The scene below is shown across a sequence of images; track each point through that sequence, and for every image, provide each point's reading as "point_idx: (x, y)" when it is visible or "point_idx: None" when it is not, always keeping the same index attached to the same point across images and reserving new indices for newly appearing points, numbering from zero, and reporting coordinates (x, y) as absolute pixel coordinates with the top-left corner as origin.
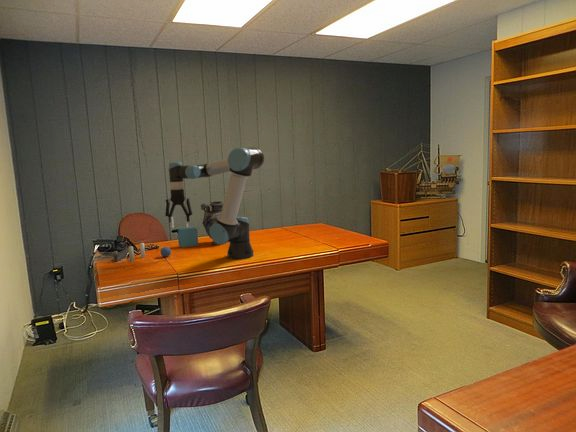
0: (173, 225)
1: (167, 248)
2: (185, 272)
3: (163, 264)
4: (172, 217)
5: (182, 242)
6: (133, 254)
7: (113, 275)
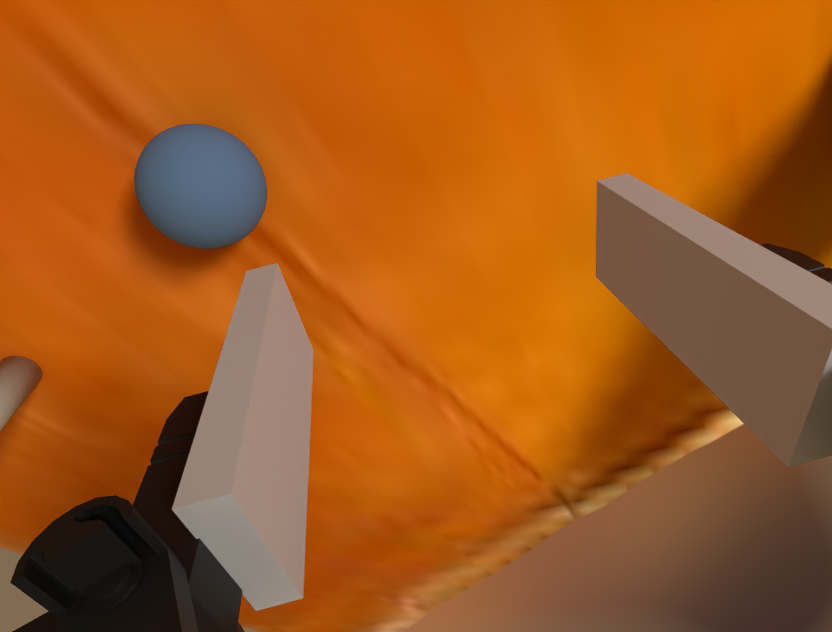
0: (282, 314)
1: (237, 219)
2: (595, 476)
3: (379, 391)
4: (274, 531)
5: None
6: (5, 407)
7: None
